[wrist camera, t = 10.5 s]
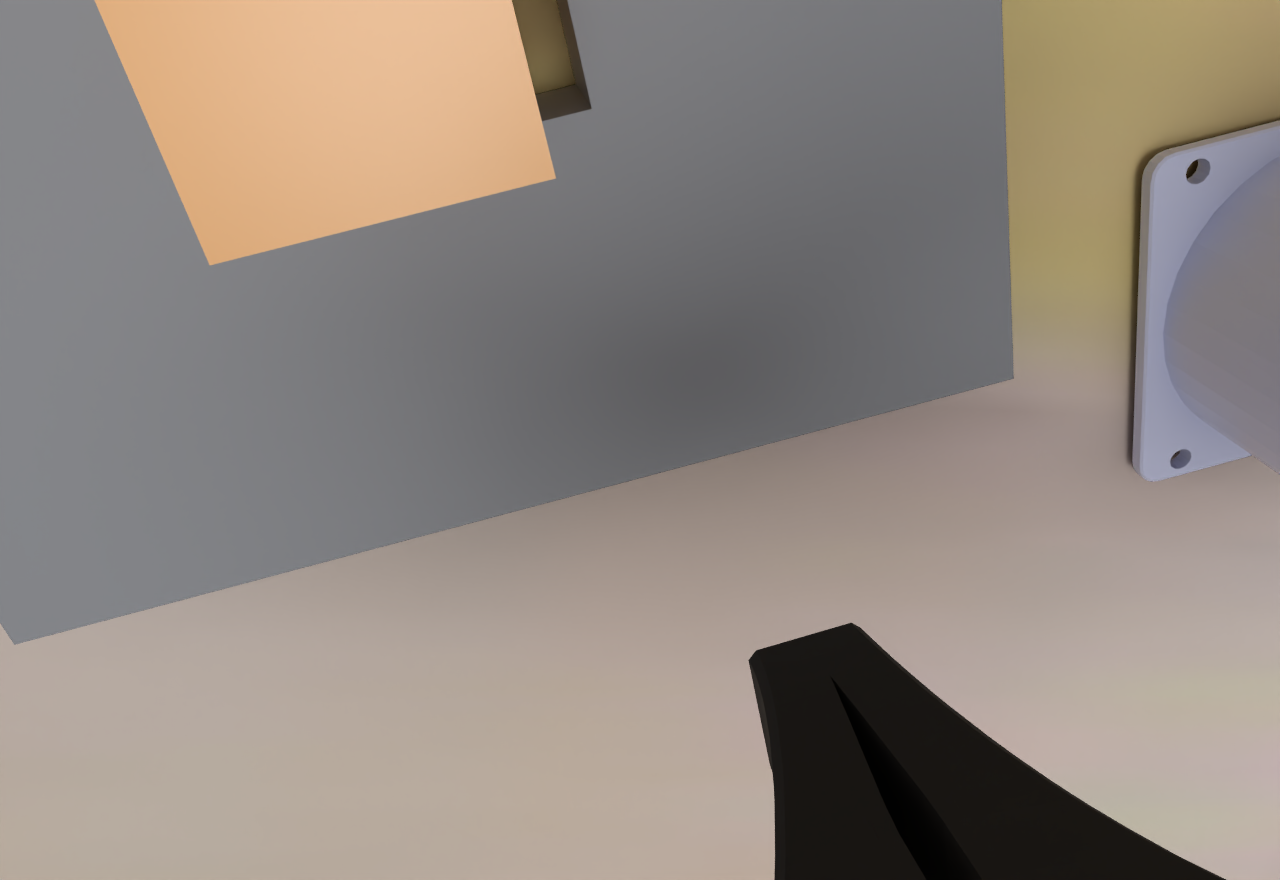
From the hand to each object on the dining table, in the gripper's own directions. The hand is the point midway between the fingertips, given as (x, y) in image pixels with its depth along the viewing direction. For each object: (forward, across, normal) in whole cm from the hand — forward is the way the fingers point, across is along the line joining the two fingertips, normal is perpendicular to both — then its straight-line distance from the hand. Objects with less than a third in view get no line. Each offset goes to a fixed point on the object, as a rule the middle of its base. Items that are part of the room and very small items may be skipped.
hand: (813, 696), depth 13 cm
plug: (+11, +3, -8) cm, 14 cm away
